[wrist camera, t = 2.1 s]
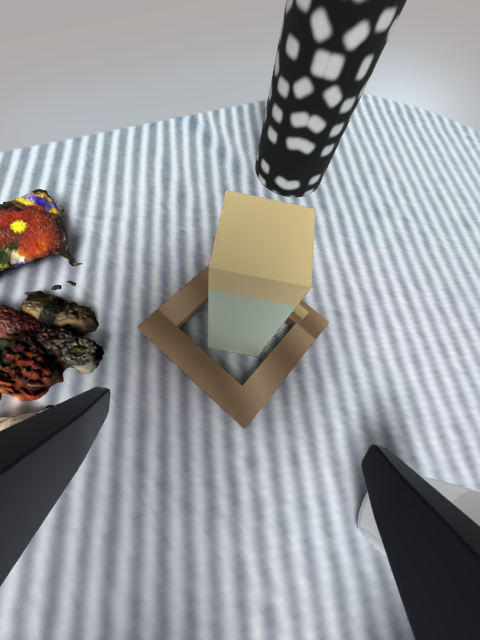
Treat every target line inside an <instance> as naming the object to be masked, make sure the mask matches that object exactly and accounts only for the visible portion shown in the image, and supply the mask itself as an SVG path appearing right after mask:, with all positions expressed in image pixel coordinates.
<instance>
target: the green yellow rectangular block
mask: <svg viewBox="0 0 480 640" xmlns="http://www.w3.org/2000/svg"><path fill="white" fill-rule="evenodd" d="M314 224H315V209H314V208H309V207H304V206H299V205H295V204H290V203H285V202H280V201H275V200H271V199H266V198H261V197H256V196H252V195H247V194H242V193H237V192H232V191H228V190H226V193H225V198H224V202H223V207H222V211H221V215H220V220H219V224H218V229H217V233H216V237H215V242H214V246H213V251H212V255H211V259H210V264H209V282H208V348H210V349H216V350H222V351H228V352H233V353H239V354H245V355H251V356H256V357H258V355H259V354H260V353H261V352H262V350H263V349H264V348H265V346H266V345H267V344H268V343H269V341H270V340H271V339H272V337H273V336H274V335H275V333H276V332H277V331H278V330H279V328H280V327H281V326H282V324H283V323H284V322H285V321H286V319H287V318H288V317H289V315H290V314H291V313H292V312H293V310H294V309H295V308H296V306H297V305H298V304H299V303H300V301H301V300H302V299H303V297H304V296H305V295H306V294H307V292H308V291H309V290H310V288H311V287H312V266H313V245H314Z"/></svg>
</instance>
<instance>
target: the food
mask: <svg viewBox="0 0 480 640" xmlns="http://www.w3.org/2000/svg"><path fill="white" fill-rule="evenodd" d="M47 199H48V202H47ZM58 208H59V207H57V206H56V203H55V202H54V201H53V200H52V199H51V197H50V196H49V195H48V193H47V191H46V190H42V189H37V190H34V191H32V192H29V193H28V194H26V195H24V196H22V197H20V198H17V199H15V200H12V201H8V202H3V204H0V271H1V270H4V269H7V268H13V267H17V266H21V265H24V264H27V263H29V262H32V261H33V260H34V259H36V258H39V257H46V256H49V255H53V254H60V255H62V256H64V257H65V258H67V259H68V260H69V264H71V265H72V266H78V265H81V263H74V262H73V261H72V259H71V258H70V254H69V251H68V248H67V242H68V236H67V233H66V229H65V226H64V223H63V220H62V217H61V214H60V212H59V210H58ZM60 211H62V212H63V211H64V209H63V210H60ZM67 282H68V283H70V284H71V285H72V286H75V285H76V283H74V282H72V281H67ZM56 289H61V285H55V286H53V287H52V289H51V290H56ZM48 292H49V291H48ZM25 294H26V295H28V297H27V298H26V299H25V300H24V302H23V303H22V305H21V312H20V311H18V310H15V309H13V308H12V307H7V306H5V305H1V306H0V398H1V394H2V393H5V394H9V395H12V396H14V397H16V398H18V399H19V400H21V401H31V400H37V399H39V398H41V397H42V396H43V395H45V394H46V393H47V392H48V390H49V388H50V387H51V386H52V385H54V384H56V383H60V382H63V381H64V380H63V371H64V370H65V369H66V368H68V367H72V368H75V369H76V370H77V371H78V372H82V373H91V372H93V370H94V369H95V368H97V366H98V365H99V363H100V361H101V360H102V356H103V355H104V352H103V348H102V347H100V346H99V345H97V344H96V343H95V341H92V340H90V339H88V338H84V337H81V336H84V335H86V334H88V333H89V332H95V331H96V329H97V327H98V326H99V323H98V322H97V320H96V317H95V314H94V312H93V311H91V308H90V307H84V306H79V305H77V303H75V302H72V303H69V302H67V301H65V300H64V299H62V298H61V297H57V296H56V297H55V296H52V295H48V294H46V293H43V292H41V291H36V292H26V293H25ZM101 323H102V322H101ZM108 353H109V352H108ZM53 406H54V405H52V406H51V405H48V406H47V407H46V408H45V409H47V408H51V407H53ZM45 409H43V410H45ZM43 410H39V411H35V412H31V413H27V414H23V415H19V416H15V417H1V418H0V431H1V430H3V429H5V428H8V427H10V426H12V425H14V424H16V423H18V422H21V421H23V420H25V419H27V418H29V417H31V416H34V415H36V414H38V413H39V412H40V411H43Z"/></svg>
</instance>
